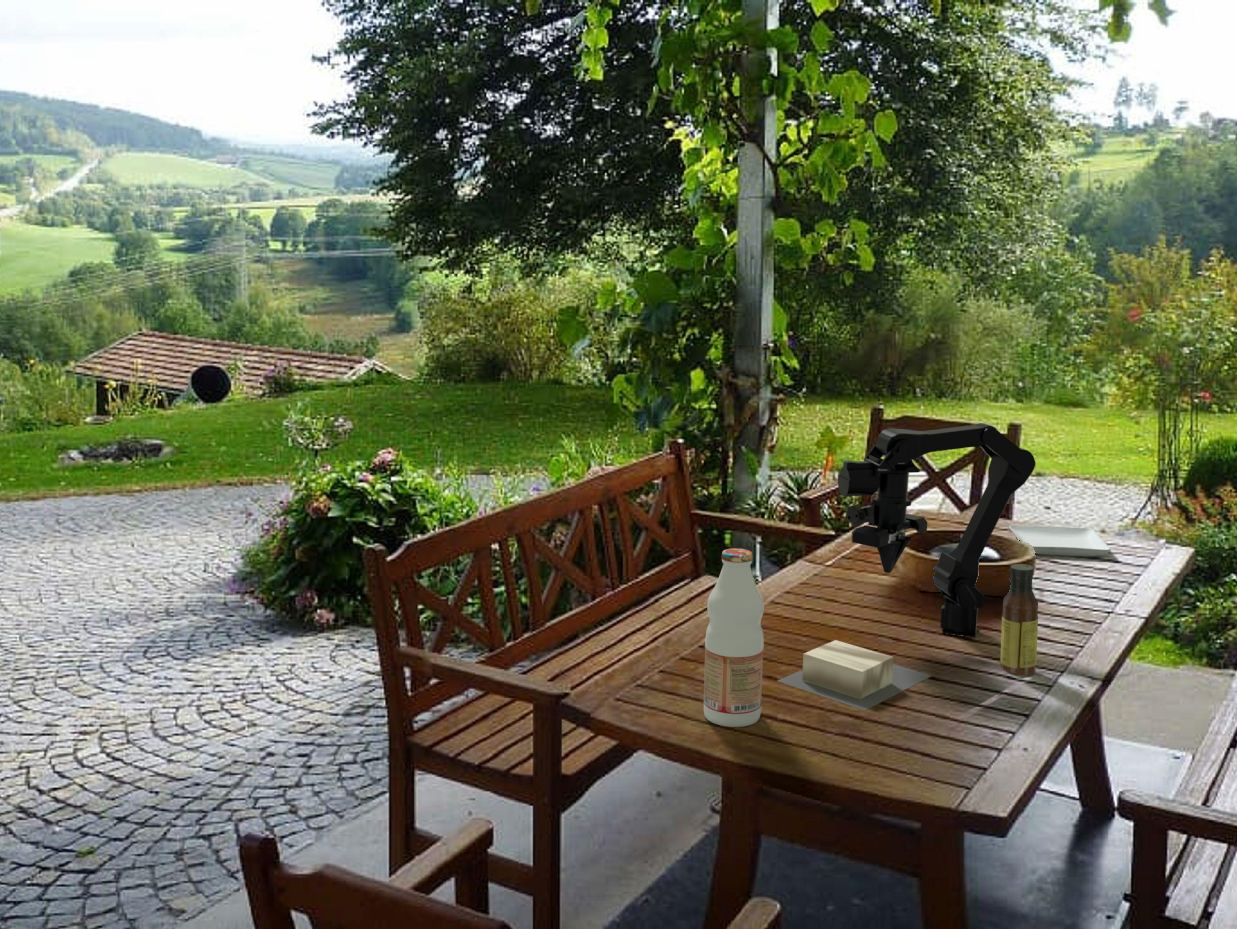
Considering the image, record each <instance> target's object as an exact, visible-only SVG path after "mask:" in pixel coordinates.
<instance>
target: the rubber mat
mask: <svg viewBox="0 0 1237 929" xmlns="http://www.w3.org/2000/svg"><path fill="white" fill-rule="evenodd" d="M802 674H803V669H801V670H798V671H796V672H793V673H792V674H790V675H789V674H788V675H787V676H785V677H782V678H780V679H778V680H776V682H778V683H781V684H784V685H786V686H790V687H792V688H796V689H797V690H798V689H799V690H801V691H805V692H807V693H808V692H809V693H811V694H814V695H817V696H820V697H823V698H825V699H829V700H832V701H835V702H838V703H840V704H844V705H847V706H850V707H853V708H856V709H859V710H862V711H867V710H869V709H871V708H873V707H875V706H877V705H879V704H881V703H882V702H884V701H886V700H888V699H890V698H893V697H894V696H896V695H897V694H900V693H902V692H904V691H906V690H908V689H909V688H911V687H913V686H916V685H918V684H919V683H921V682H923V681H925V680H926V679H928V678H931V677H932V675H931V674H928V673H925V672H921V671H917V670H914V669H911V668H907V667H905V666H904V667H903V666H900V665H897V664H894V663H893V676H892V684H891V685H889V686H887V687H885V688H883V689H881V690H879V691H877V692H875V693H873V694H871V695H869V696H867V697H865V698H863V699H861V700H860V699H857V698H854V697H851V696H848V695H845V694H842V693H839V692H836V691H832V690H829V689H826V688H823V687H820V686H817V685H814V684H811V683H808V682H805V681H802Z"/></svg>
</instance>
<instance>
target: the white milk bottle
mask: <svg viewBox="0 0 1237 929" xmlns="http://www.w3.org/2000/svg"><path fill="white" fill-rule="evenodd" d="M753 555H754V554H753V552H752V551H750V550H748V549H745V548H728V549H724V550H723V551H722V553H721V562H722V568H721V571H720V574H719V575H718V576H719V577H718V579H717V581H716V584H715V585H714V587H713V589H712V590H711V591H710V594H709V595H708V598H707V603H706V604H707V605H706V607H707V613H708V617H709V623H708V625H707V627H706V632H705V640H704V641H705V642H704V643H705V644H704V677H703V680H704V681H703V682H704V683H703V714H704V717H705V719H706V720H708V721H709V722H711V723H713V724H715V725H718V726H723V727H728V728H742V727H747V726H751V725H753V724H755V723H757V722H758V721H759V719H760V717H761V713H762V697H763V696H762V694H763V693H762V692H763V668H764V667H763V666H764V662H763V660H764V647H765V646H764V642H765V641H764V632H763V628H762V626H761V625H762V624H761V622H762V618H763V615H764V610H765V603H764V599H763V595H762V594H761V592H760V591H759V589H758V587H757V585H756V581H755V579H754V575H753V571H752V569H751V564H752V563H753V559H754V558H753V557H754V556H753Z"/></svg>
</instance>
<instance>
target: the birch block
mask: <svg viewBox="0 0 1237 929" xmlns="http://www.w3.org/2000/svg"><path fill="white" fill-rule="evenodd" d="M802 656H803V657H802V658H803V659H802V670H803V674H802V681H805V682H808V683H811V684H814V685H817V686H820V687H823V688H826V689H829V690H832V691H836V692H839V693H842V694H845V695H848V696H851V697H854V698H857V699H860V700H861V699H863V698H865V697H867V696H869V695H871V694H873V693H875V692H877V691H879V690H881V689H883V688H885V687H887V686H889V685H891V684H892V676H893V664H894V656H891V655H889V654H885V653H881V652H879V651H874V650H870V649H868V648H864V647H861V646H858V645H857V646H856V645H854V644H851V643H846V642H844V641H840V640H836V639H834V640H831V642H830V641H829V642H828V643H825V644H822V645H821V646H818V647H816V648H813V649H811V650H808V651H807V652H804V653H803V654H802Z"/></svg>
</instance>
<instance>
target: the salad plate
mask: <svg viewBox="0 0 1237 929" xmlns="http://www.w3.org/2000/svg"><path fill="white" fill-rule="evenodd" d="M1008 527H1009V529H1010V531H1011V532H1012V534H1013V535H1014V536H1015V537H1016V538H1017V540H1018V541H1019V540H1021V541H1022V542H1026V543H1029V544H1030V545H1032V547H1033V548H1034V550H1035V552H1036V554H1035V555H1043V556H1045V555H1048V556H1061V557H1062V556H1065V557H1085V558H1086V557H1088V558H1089V557H1098V556H1103V555H1107V554H1108V553H1110V551H1111V547H1110V546H1109V545H1108V544H1107V543H1106V542H1105V541H1104V540H1103V539H1102V538H1101V537H1100V535H1099V534H1098V533H1097V532H1096V531H1095V530H1094V528H1091V527H1074V526H1073V527H1071V526H1069V527H1068V526H1045V525H1043V526H1042V525H1009V526H1008Z"/></svg>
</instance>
